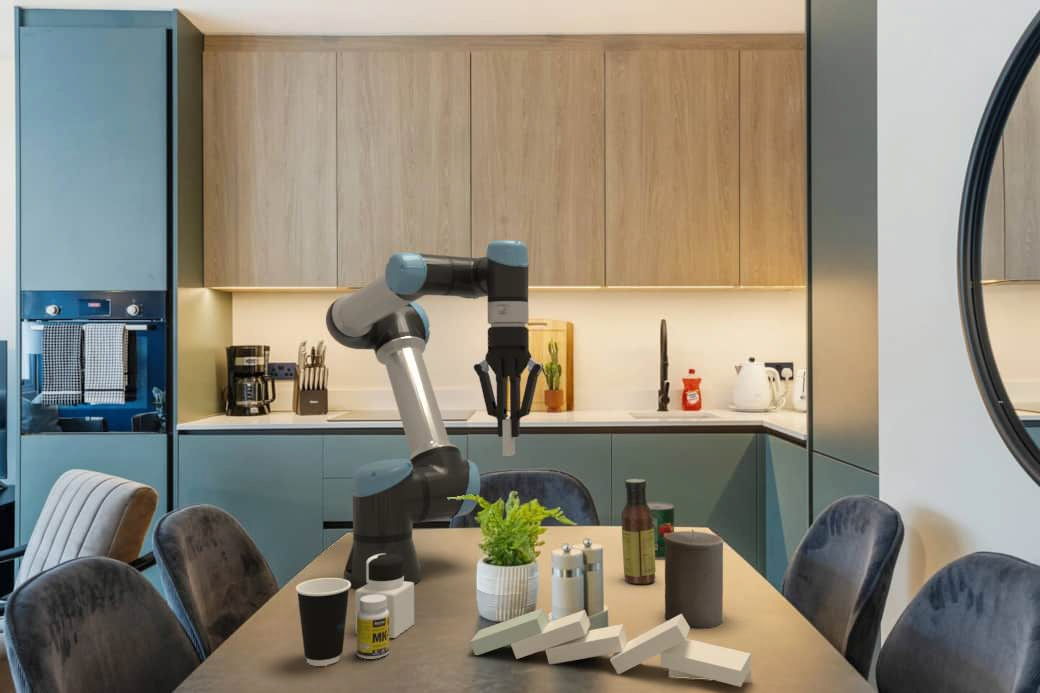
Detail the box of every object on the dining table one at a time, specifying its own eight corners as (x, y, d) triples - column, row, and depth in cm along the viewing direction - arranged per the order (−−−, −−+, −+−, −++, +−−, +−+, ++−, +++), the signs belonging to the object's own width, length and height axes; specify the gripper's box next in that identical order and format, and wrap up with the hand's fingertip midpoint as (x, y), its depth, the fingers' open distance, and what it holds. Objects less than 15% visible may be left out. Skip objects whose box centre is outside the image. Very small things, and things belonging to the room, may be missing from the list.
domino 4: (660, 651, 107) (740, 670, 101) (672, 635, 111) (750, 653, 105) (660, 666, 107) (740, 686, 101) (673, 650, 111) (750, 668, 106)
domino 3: (610, 660, 108) (676, 624, 105) (617, 647, 113) (681, 613, 110) (618, 674, 108) (685, 639, 105) (625, 661, 113) (690, 627, 110)
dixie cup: (359, 662, 113) (359, 587, 113) (306, 675, 108) (306, 597, 108) (339, 646, 119) (338, 574, 119) (288, 657, 115) (287, 583, 115)
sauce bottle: (654, 576, 155) (653, 477, 155) (656, 586, 149) (656, 482, 149) (621, 576, 156) (620, 477, 156) (622, 585, 150) (621, 482, 150)
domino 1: (510, 644, 113) (579, 620, 111) (518, 633, 118) (584, 609, 116) (516, 659, 113) (585, 635, 111) (524, 646, 118) (590, 623, 115)
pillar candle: (659, 624, 128) (660, 533, 128) (669, 606, 137) (669, 521, 137) (720, 632, 124) (720, 538, 124) (726, 612, 134) (726, 525, 134)
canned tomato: (638, 549, 177) (637, 501, 177) (673, 550, 176) (673, 502, 176) (638, 559, 169) (638, 508, 169) (675, 560, 168) (675, 509, 168)
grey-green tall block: (469, 641, 115) (536, 618, 113) (479, 630, 120) (543, 607, 118) (475, 656, 115) (542, 633, 112) (484, 643, 120) (549, 621, 117)
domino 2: (545, 649, 112) (618, 636, 109) (552, 637, 117) (623, 624, 114) (549, 664, 112) (622, 651, 109) (556, 651, 116) (627, 638, 114)
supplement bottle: (374, 663, 112) (373, 605, 113) (350, 656, 115) (350, 599, 115) (396, 652, 117) (395, 596, 117) (372, 646, 119) (372, 591, 119)
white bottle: (415, 624, 128) (414, 552, 129) (394, 639, 122) (394, 563, 122) (377, 620, 131) (376, 549, 131) (354, 634, 124) (354, 559, 124)
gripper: (467, 325, 140) (468, 456, 140) (536, 324, 136) (537, 458, 136) (481, 327, 147) (482, 451, 147) (547, 326, 143) (548, 453, 143)
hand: (508, 454), depth 141 cm, fingers closed
